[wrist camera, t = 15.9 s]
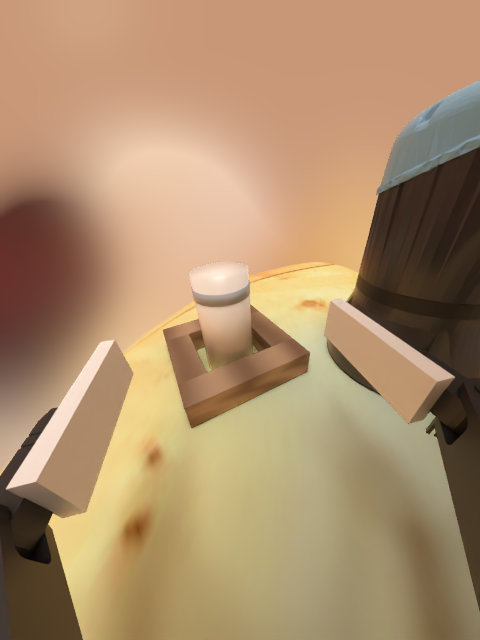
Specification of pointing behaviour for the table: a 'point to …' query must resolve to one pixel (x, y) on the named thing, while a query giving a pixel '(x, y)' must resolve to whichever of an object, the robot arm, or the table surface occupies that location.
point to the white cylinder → (223, 311)
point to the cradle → (232, 368)
